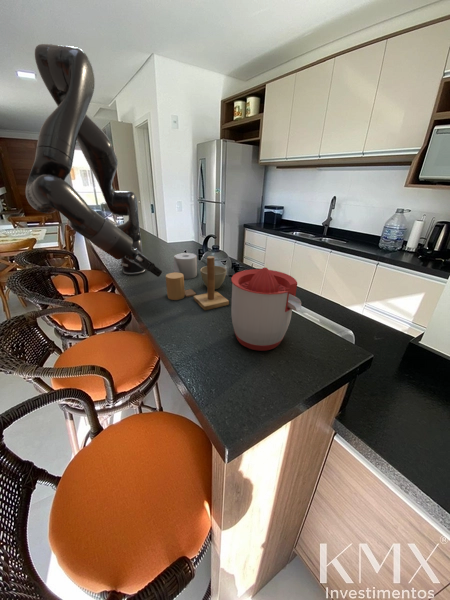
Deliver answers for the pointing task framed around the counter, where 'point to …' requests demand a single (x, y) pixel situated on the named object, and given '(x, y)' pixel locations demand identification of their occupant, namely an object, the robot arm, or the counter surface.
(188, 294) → the cap
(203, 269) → the beige bowl
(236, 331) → the citrus juicer
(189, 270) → the toilet tissue
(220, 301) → the paper towel holder
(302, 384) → the counter surface
